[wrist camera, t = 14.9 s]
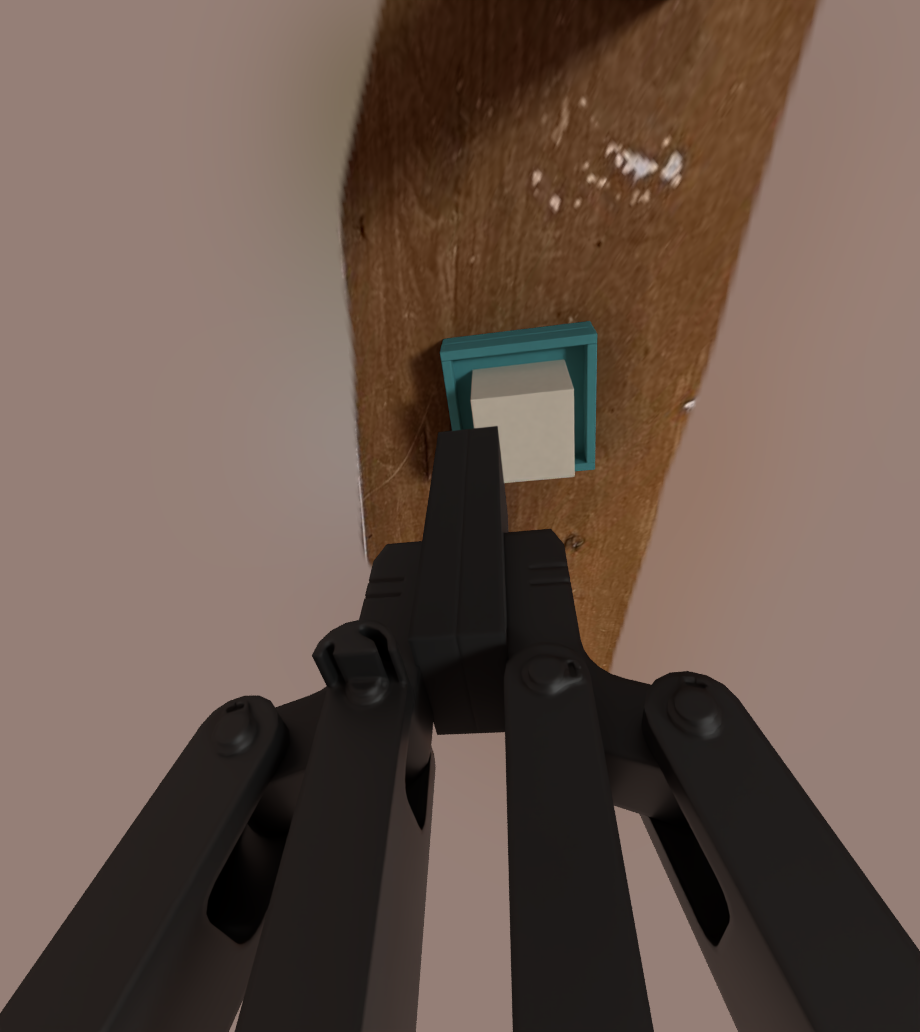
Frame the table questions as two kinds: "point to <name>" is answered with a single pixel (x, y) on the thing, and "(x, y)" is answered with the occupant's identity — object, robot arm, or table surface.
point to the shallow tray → (524, 348)
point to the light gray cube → (528, 417)
